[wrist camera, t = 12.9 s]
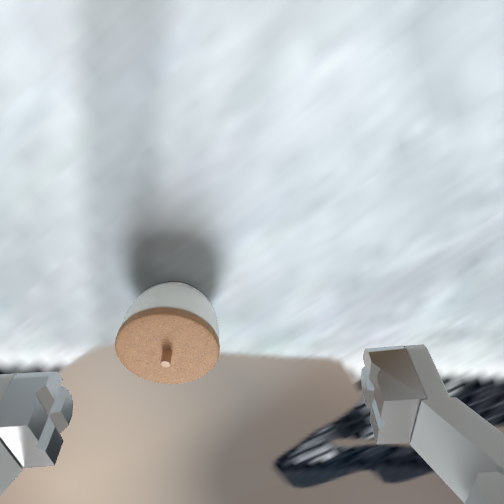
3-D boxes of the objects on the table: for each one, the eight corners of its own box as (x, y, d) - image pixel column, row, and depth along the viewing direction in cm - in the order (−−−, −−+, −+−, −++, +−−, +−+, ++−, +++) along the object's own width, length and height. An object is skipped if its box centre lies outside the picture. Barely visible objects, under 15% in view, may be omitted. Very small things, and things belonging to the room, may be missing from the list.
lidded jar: (111, 285, 49) (88, 348, 42) (193, 252, 47) (184, 311, 39) (162, 343, 55) (149, 407, 48) (237, 316, 53) (236, 379, 45)
